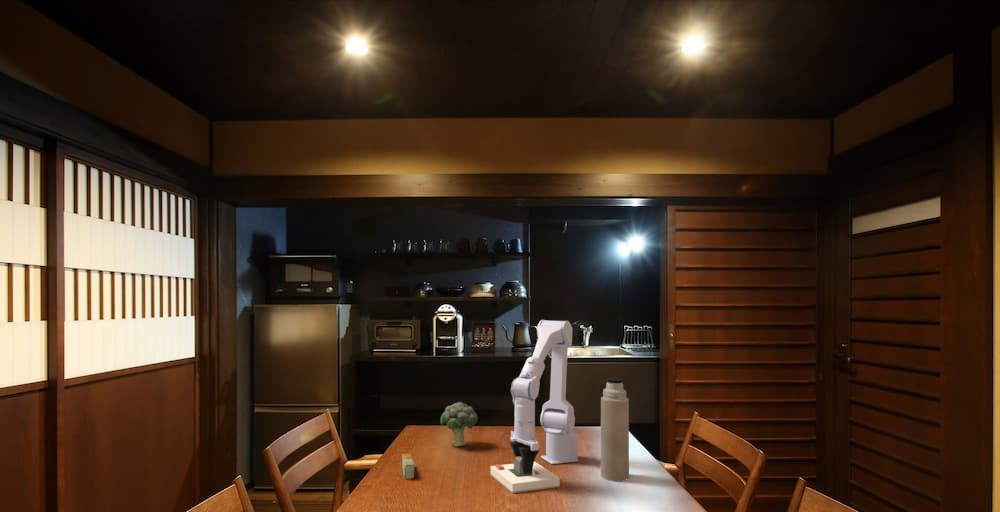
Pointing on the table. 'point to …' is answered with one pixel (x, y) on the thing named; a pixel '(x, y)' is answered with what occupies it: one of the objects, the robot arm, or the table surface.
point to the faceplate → (524, 478)
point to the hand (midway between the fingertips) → (524, 470)
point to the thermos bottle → (614, 431)
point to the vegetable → (459, 420)
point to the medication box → (407, 466)
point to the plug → (520, 468)
